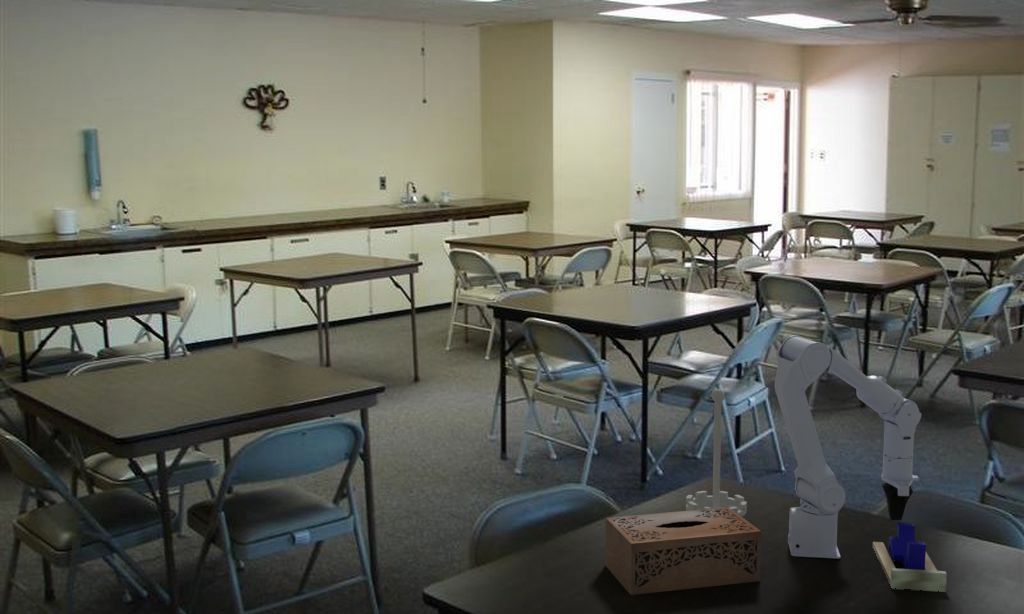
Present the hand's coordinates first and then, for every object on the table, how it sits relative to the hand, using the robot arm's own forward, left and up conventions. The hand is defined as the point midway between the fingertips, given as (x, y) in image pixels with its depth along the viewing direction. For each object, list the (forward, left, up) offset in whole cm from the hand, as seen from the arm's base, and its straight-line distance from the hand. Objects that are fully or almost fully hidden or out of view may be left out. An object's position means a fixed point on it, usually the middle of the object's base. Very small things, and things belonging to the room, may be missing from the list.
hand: (895, 519), depth 214 cm
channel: (0, -13, -5) cm, 14 cm away
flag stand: (-36, +7, -5) cm, 37 cm away
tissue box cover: (-43, -23, -6) cm, 49 cm away
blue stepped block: (0, -10, -6) cm, 12 cm away
